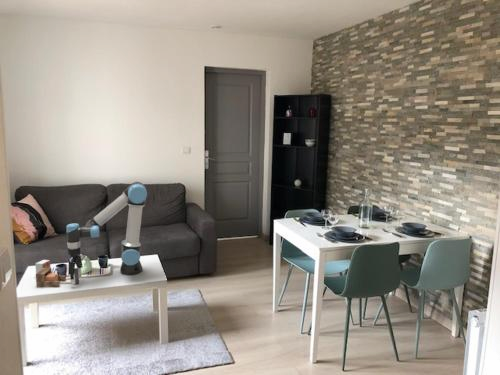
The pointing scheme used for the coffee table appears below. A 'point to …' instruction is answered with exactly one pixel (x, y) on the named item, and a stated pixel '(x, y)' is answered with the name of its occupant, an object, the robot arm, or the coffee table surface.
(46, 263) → the small box
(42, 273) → the wooden toy block stack
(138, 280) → the coffee table surface
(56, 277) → the tethered block
